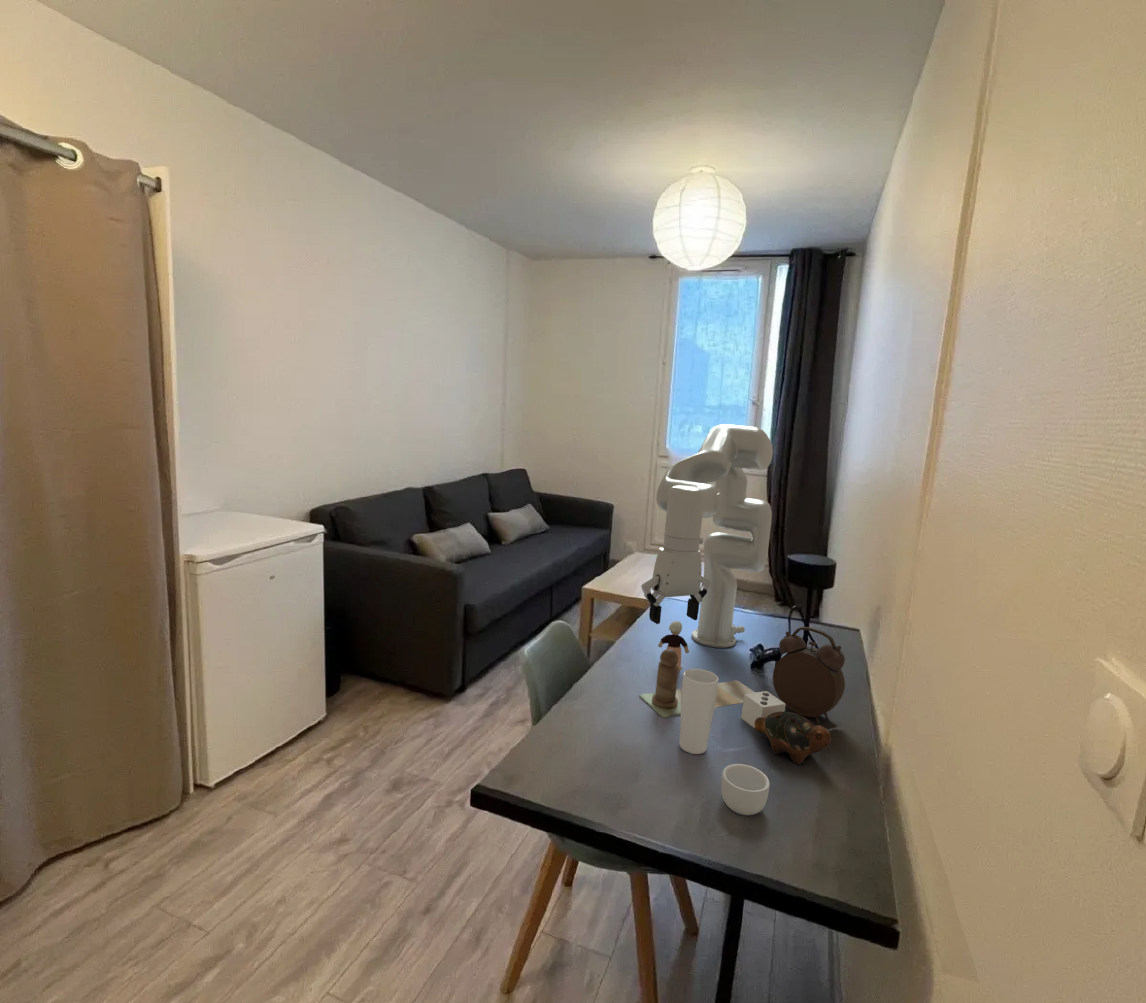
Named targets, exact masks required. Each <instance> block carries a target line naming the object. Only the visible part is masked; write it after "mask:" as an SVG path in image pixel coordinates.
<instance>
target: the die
mask: <svg viewBox="0 0 1146 1003" xmlns="http://www.w3.org/2000/svg"><path fill="white" fill-rule="evenodd" d="M755 692H756V691H755ZM785 706H786V704H785V703H784V702H782V701H781V700H780V698H779V697H776V696H775V695H773V693H770V691H767V690H765V691H757V692H756V693H749V694H744V701H743V703H742V709H741V719H742V720H743V721H745V723H747V724H748V725H749V726H751V727H752V728H754V729H755V720H756V719H757V718H759V717H761V718H766V717H767V716H768V715H770V714H772V713H775V712H780V711H782V712H786V707H787V706H786V707H785Z"/></svg>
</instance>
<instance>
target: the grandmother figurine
mask: <svg viewBox="0 0 1146 1003" xmlns="http://www.w3.org/2000/svg"><path fill="white" fill-rule="evenodd" d="M668 630H669V631H670V633H671V634H666V635H664V636H663V637H662V638H661V639H660V641H659V643H658V645H657V646H658V648H662V647H663V645H664V644H667V646H666V649H672V650H674V651H675V652H676V653H677V654H678V658H679V660H678V663H677V664H678V665H679V669H678V672H680V671H681V670H683V668H682V648H683V650H684V653H686V654H689V653H690V650H689V646H688V643H687V642H686V639H685V638H684V637H683V636H681V635H680V634H681V632H682V630H683V624H682V622H681V621H680V620H679V621H678V620H674V621H671V623H670V624H669V625H668ZM681 646H682V647H681Z"/></svg>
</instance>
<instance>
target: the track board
mask: <svg viewBox="0 0 1146 1003" xmlns="http://www.w3.org/2000/svg"><path fill="white" fill-rule="evenodd" d="M749 693H756V691H754V690H753V689H751V688H749V687H748V686H747V685H746V684H743V683H742V682H740V681H739V680H737V679H736V680H731V681H724V682H718V692H717V699H716V704H715V708H721V707H725V706H730V705H731V706H733V705H736V704H743V701H744V694H749ZM654 694H656V692H651V693H644V694H639V696H638V697H639V698H640V699H641V700H643V701H644V702H645V703H646V704H647V703H648V704H647V705H648V706H650V708H652V709H653V710H654V711H655V712H656V713H657V714H659V715H660V716H661V717H662V719H664V718H669V717H676V716H681V688H676V698H677V699H678V704H677V707H676V708H673V709H663V708H659V707H657V706H655V705H654V704H653V703H652V697H653V695H654Z"/></svg>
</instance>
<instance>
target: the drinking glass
mask: <svg viewBox="0 0 1146 1003" xmlns="http://www.w3.org/2000/svg"><path fill="white" fill-rule="evenodd" d="M718 683H719V677H718V676H717V674H715V673H714V672H712V671H709V670H708V669H702V668H688V669H687V670H684V671H683V674H682V681H681V688H680V689H681V715H680V720H679V721H680V725H679V726H680V728H679V730H680V731H679V741H678V743H679V747H680V748H681V750H683V751H684V752H686V753H688V754H691V755H701V754H704V753H706V751H707V748H708V741H709V738H710V737H709V736H710V731H711V728H712V721H713V719H714V718H713V716H714V712H715V708H716V707H715V704H716V699H717V692H718Z"/></svg>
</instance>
